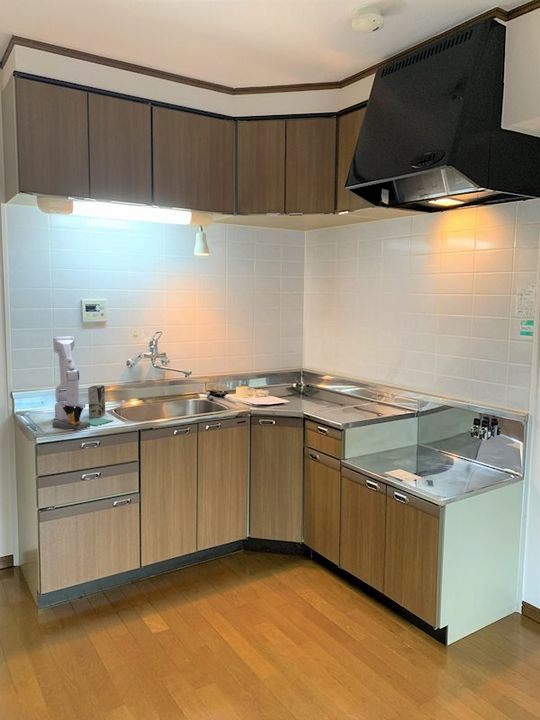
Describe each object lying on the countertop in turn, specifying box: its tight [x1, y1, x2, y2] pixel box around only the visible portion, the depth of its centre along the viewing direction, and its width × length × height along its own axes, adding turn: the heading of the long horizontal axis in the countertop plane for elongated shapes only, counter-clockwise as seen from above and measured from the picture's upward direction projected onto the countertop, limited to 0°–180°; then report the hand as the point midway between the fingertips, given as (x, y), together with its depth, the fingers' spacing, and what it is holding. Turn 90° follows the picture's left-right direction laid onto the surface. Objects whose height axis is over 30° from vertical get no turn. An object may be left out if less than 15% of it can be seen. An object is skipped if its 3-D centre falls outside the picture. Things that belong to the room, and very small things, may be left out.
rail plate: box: [52, 419, 91, 431], centre depth 273 cm, size 17×8×3 cm, turn 63°
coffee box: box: [87, 385, 106, 418], centre depth 298 cm, size 9×6×16 cm
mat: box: [82, 417, 114, 427], centre depth 283 cm, size 12×12×1 cm
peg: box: [67, 413, 81, 424], centre depth 272 cm, size 4×4×7 cm
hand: (73, 420), depth 272 cm, fingers closed on peg, 4 cm apart
